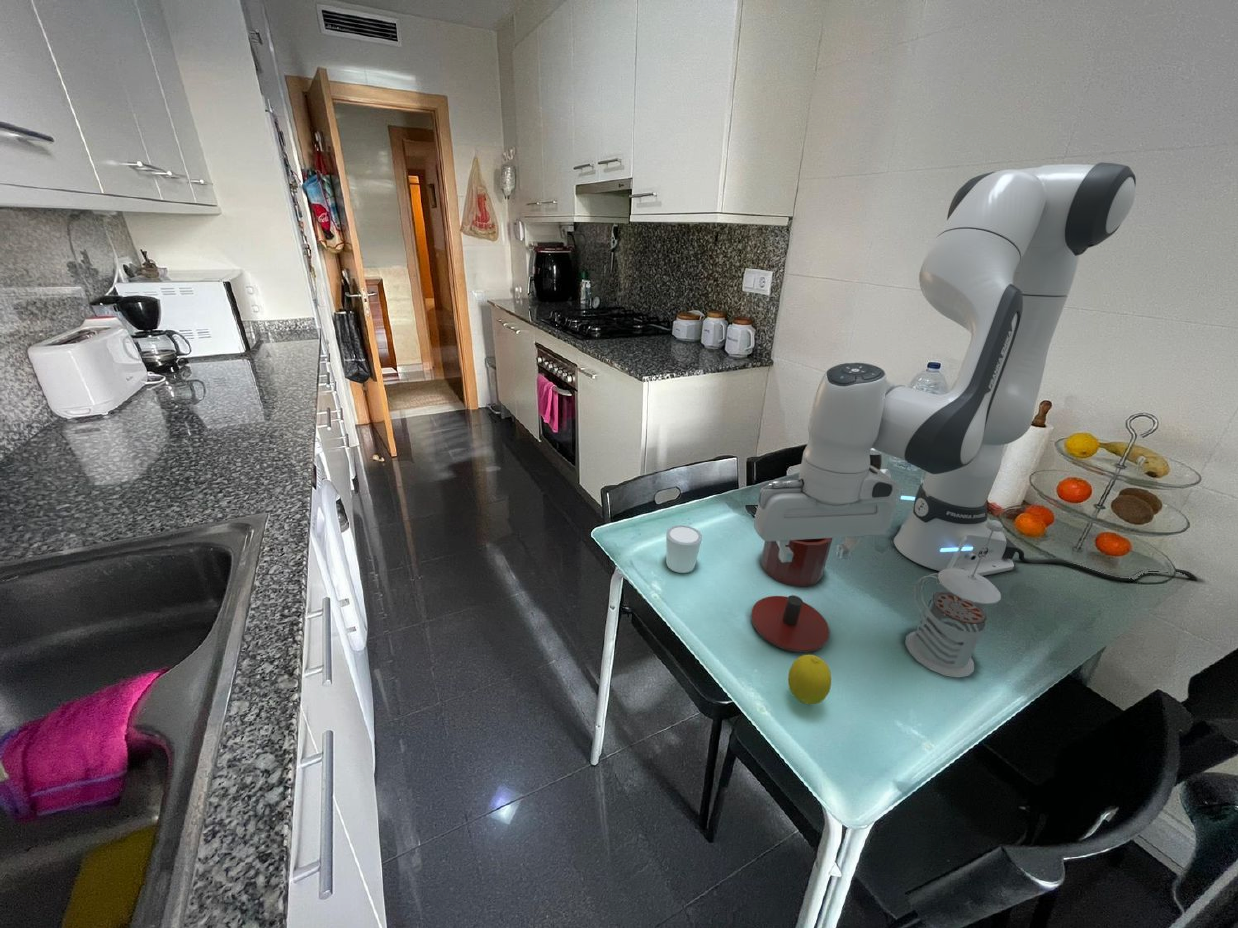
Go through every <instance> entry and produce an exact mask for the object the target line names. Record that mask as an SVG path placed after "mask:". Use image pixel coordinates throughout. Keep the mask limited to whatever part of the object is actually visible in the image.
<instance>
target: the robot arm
mask: <svg viewBox="0 0 1238 928" xmlns="http://www.w3.org/2000/svg"><path fill="white" fill-rule="evenodd" d="M1136 179H1137V178H1136V175H1135V173H1134V172H1133V170H1132V169H1131V167H1130V166H1129V165H1125V164H1120V163H1115V162H1113V163H1112V162H1104V161H1103V162H1102V161H1101V162H1098V163H1096V164H1086V163H1085V164H1083V163H1082V164H1081V163H1059V164H1043V165H1041V166H1036V167H1027V168H1019V169H1010V168H1009V169H1002V170H999V171H991V172H986V173H983V174H980V175H976V176H975V177H972V178H970V179H969V180H968V181H967V182H965V183H964V184H963V185H962V186H961V187H959V189H958V190H957V191H956V192H955V194H954V196H953V198H952V200H951V202H950V205H949V208H948V211H947V218H946V222H945V223H944V225H943V227H941V229H940V231H939V232H938V234H937V236H936V238H935V240H934V241H933V243H932V244H931V246H930V248H929V250H928V251H927V254H926V255H925V257H924V259H923V262H922V264H921V266H920V269H919V275H918V283H919V288H920V291H921V293H922V295H923V297H924V298H925V300H926V301H927V303H928V304H929V305H930V306H931V307H932V308H933V309H935V310H936V311H937V312H938V313H939V314H941V315H943V317H945V318H947V319H949V320H951V321H953V322H955V323H956V324H958V325H960V326H961V327H963V328H964V329H965V330H967V331H968V332H969V333H970V334H971V335H970V341H969V344H968V347H967V350H966V353H965V355H964V358H963V360H962V362H961V365H960V369H959V372H958V374H957V377H956V379H955V380H954V382H953V384H952V385H951V389H950V391H948V392H946V393H943V394H936V393H932V392H928V391H924V390H920V389H917V388H911V387H908V386H905V385H903V384H900V383H896V382H893V381H890V380H888V379H887V373H886V372H885V370H883V369H882V368H881V367H879V366H877V365H874V364H870V363H866V362H845V363H840V364H837V365H834V366H832V367H829V368H828V369H827V370H826V371H825V373H824V374H823V375H822V377H821V380H820V382H819V385H818V388H817V390H816V393H815V396H814V400H813V403H812V406H811V411H810V416H809V420H808V427H807V430H808V441H807V444H806V446H805V448H804V450H803V452H802V456H801V463H800V468H799V474H798V477H797V479H788V480H779V479H778V480H772V481H770V483H768V484H765V485H764V486H763V487H762V488H760V491H759V497H758V504H757V507H756V511H755V516H754V519H753V524H752V525H753V528H754V531H755V532H756V534H757V535H758V536H759V538H760V539H761V540H762V541H764V542H765V541H776V542H777V544H778V546H779V548H780V550H779V559H780V560H781V562H782V563H783V562H792V558H793V555H794V553H793V552H792V551H791V549H790V548H789V547H785V545H789V541H790V540H802V539H821V538H833V539H836V538H837V539H838V538H845V540H844V541H843V542H842V543H837V545H836V550H835V555H836V556H837V557H838V558H839V560H848V559H851V557H852V556H851V555H852V553H853V551H854V550H855V548H857V547H858V546H859V545H860V544H861V543H862V542H863V539H864V537H874V536H876V537H877V536H883V535H885V534H886V533H887V532H888V531H889V530H890V528H891V526H892V523H893V520H894V516H895V510H896V499H895V498H894V497H896V495H897V494H898V492H899V489H900V486H899V484H898V483H897V482H896V481H895V480H894V479H892V477H891V478H890V477H888V476H887V475H886V474H884V473H883V472H881V471H880V470H881V469H880V470H878V469H877V468H875V467H873V466H871V465H870V450H871V448H874V449H875V450H878V451H880V452H882V453H883V454H886V455H888V456H892V457H894V458H896V459H899V460H902V461H905V462H906V463H907V464H910V465H912V466H914V467H916V468H918V469H921V470H923V471H925V472H926V474H925V475H924V479H923V482H922V483H921V484H920V485H919V486H918V489H917V491H916V495H915V496H909V495H900V500H905V501H913V506H912V508H911V510H910V512H909V514H908V516H907V518H906V519H905V521H904V523H903V524H902V525H901V526H900V528H899V531H898V532H897V534H896V536H894V538H893V544H894V546H895V548H896V549H897V551H899V553H900V554H902V555H903V556H904V557H906V558H907V559H909V560H910V561H913V562H914V563H916V564H918V565H921V566H923V567H925V568H927V569H931V570H935V571H937V572H940V571H942V570H943V569H950V568H957V569H964V570H967V571H971V572H974V570H975V568H976V565H977V563H978V561H979V559H980V556H981V554H982V552H983V549H984V547H985V545H986V543H987V540H988V538H989V536H990V533H991V531H992V530H990V529H988V528H987V527H986V525H987V522H988V521H991V520H992V519H990V518H989V516H988V515H989V514H988V513H989V512H991V514H992V515H994V516H999V515H1000V514H1002V513H1003V511H1004V508H1003V506H1001V505H999V504H997V502H994V501H993V502H990V501H988V498H989V495H990V493H991V491H992V488H993V485H994V483H995V481H996V479H997V476H998V474H999V472H1000V469H1001V465H1002V457H1003V452H1004V447H1005V445H1008V444H1011V443H1014V442H1015V441H1017V440H1019V439H1020V438H1022V437H1023V436H1024V435H1025V434H1027V432H1028V431H1029V429H1030V428H1031V426H1032V424H1033V419H1034V414H1035V408H1036V403H1037V401H1038V400H1037V399H1038V396H1039V393H1040V389H1041V384H1042V381H1043V377H1044V372H1045V368H1046V363H1047V358H1048V357H1047V356H1048V352H1049V348H1050V345H1051V342H1052V340H1053V336H1054V333H1055V331H1056V328H1057V325H1058V323H1059V320H1060V318H1061V315H1062V312H1063V310H1064V307H1065V305H1066V301H1067V299H1068V296H1069V293H1070V291H1071V288H1072V285H1073V283H1074V279H1075V275H1076V273H1077V267H1078V263H1079V259H1080V256H1081V255H1083V254H1084V253H1085V252H1086V251H1087V250H1088V249H1089V248H1093V247H1095V246H1098V245H1100V244H1101V243H1103V242H1104V241H1106V240H1107V239H1108V238H1110V237H1111V236H1113V235H1114V234H1115V233H1116V232H1117V231H1118V229H1119V228H1120V227H1121V225H1122V223H1123V222H1124V220H1125V219H1126V218H1127V216H1128V215H1129V214H1130V211H1131V209H1132V207H1133V204H1134V201H1135V196H1136V185H1137V180H1136ZM1016 553H1018V560H1019V561H1021V562H1022V563H1025V564H1032V565H1033V564H1034V565H1035V564H1037V565H1041V564H1042V565H1048V564H1049V565H1050V564H1055V565H1056V564H1058V565H1064V566H1069V567H1072V568H1076V569H1079V570H1082V571H1085V572H1088V573H1091V574H1094V575H1096V576H1100V577H1103V578H1106V579H1108V580H1109V579H1110V580H1114V581H1121V582H1132V581H1137V580H1136V579H1135V580H1133V579H1132V578H1130V579H1129V578H1120V577H1115V576H1111V575H1107V574H1104V573H1105V572H1104V573H1101V572H1102V571H1101V572H1098V571H1099V570H1098V571H1095V570H1096V569H1095V570H1092V569H1093V568H1092V569H1089V568H1086V567H1083V566H1080V565H1077V564H1078V563H1077V564H1073V563H1069V562H1065V560H1066V559H1058V558H1050V559H1049V558H1048V559H1037V560H1034V559H1028V558H1025V552H1024V550H1022V549H1021V548H1019V547H1018V546H1017V545H1015V544H1014V543H1013V542H1012V540H1010V539H1009V538H1008V537H1007V536H1006V535H1005V534H1004V533H1003V532H1002V531H1001V532H996V531H993V534H992V536H991V538H990V540H989V543H988V545H987V547H986V549H985V552H984V554H983V556H982V559H981V561H980V563H979V565H978V568H977V570H976V572H975V573H977V574H978V575H980V576H982V577H984V576H988V575H994V574H1001V573H1004V572H1010V571H1013V570H1014V567H1015V564H1014V561H1013V558H1014V556H1015V554H1016ZM1174 569H1175V570H1176V572H1180V573H1182V574H1181V575H1183V576H1186V577H1188V579H1190V580H1191V581H1194V582H1198V578H1197V576H1195V574H1193V573H1192V572H1190V571H1189V570H1184V569H1181V568H1174ZM1143 570H1144V569H1142V570H1140V571H1138V572H1137V573H1139V572H1141V571H1143ZM1148 570H1150V569H1149V568H1148ZM1148 572H1159V571H1148ZM1137 573H1136V572H1135V574H1133V575H1132V576H1134V575H1136V574H1137ZM1184 574H1185V575H1184ZM1143 576H1146V575H1145V573H1143V575H1142V574H1141V575H1140V576H1138V577H1140V578H1141V577H1143ZM1127 577H1129V576H1127Z"/></svg>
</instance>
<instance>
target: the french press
mask: <svg viewBox="0 0 1238 928" xmlns="http://www.w3.org/2000/svg"><path fill="white" fill-rule="evenodd" d="M990 520H991V521H988V522H987V525H986V527H987V528H988V529H990V530H992V531H991V533H990V536H989V538H988V540H987V543H986V545H985V547H984V549H983V552H982V554H981V556H980V559H979V561H978V563H977V565H976V568H975V570H974V572H971V571H967V570H964V569H957V568H950V569H943V570H942V571H938V573H937V572H936V573H930V574H929V575H925V576H922V577H920V578H919V579H918V580H917V581H916V582H915V585H914V588H913V602H914V604H915V606H916V608H917V609H918V611H919V612H920V614H921V617H920V621H919V623H918V625H917V628H916V631H911V632H910V633H909V634H907V635H906V636H905V643H904V644H905V647H906V648H907V650H908V651H907V652H909V654H910V655H911V656H913V658H914V659H915V660H916V662H918V663H920V664H921V665H923V666H924V667H926V668H927V669H928V670H930V671H933V672H935V673H937V674H940V675H942V676H947V677H951V678H959V679H960V678H964V677H969V676H970V675H971V674H972V673H973V672H974V671H975V662H974V660H973V659H972V655H973V653H974V651H975V649H976V646H977V645H978V643H979V641H980V638H981V636H982V634H983V632H984V630H985V627H986V620H987V619H988V618H987V612H986V611H985V609H984V608H983V606H991V605H995V604H997V603H998V602H999V601H1001V600H1002V594H1001V592H1000V591H999V589H998V588H997V587H996V586H995V585H994V584H993V583H992V581H990V580H989V578H986V577H984V576H980V575H978V574H977V573H975V572H976V570H977V568H978V565H979V563H980V561H981V559H982V556H983V554H984V552H985V549H986V547H987V545H988V543H989V540H990V538H991V536H992V534H993V531H996V532H1002V530H1003V527H1004V525H1003V524H1002V522H1001V521H999V520H996V519H990ZM929 578H933V579H935V586H940V585H941V586H942V588H944V589H945V590H941V591H936V593H934V594H932V599H930V600H928V602H927V604H926V602H925V600H924V597H923V588H924V584H925V582H926V581H927V580H928V579H929ZM921 581H922V583H921V585H920V599H921V602H922V604H923V606H924V608H925V609H924V612H923V611H922V610H921V608H920V606H919V604H918V602H917V600H916V590H917V587H918V584H919V583H920V582H921ZM931 602H932V604H931ZM930 605H931V607H930ZM929 607H930V608H929ZM942 619H943V620H942ZM944 619H945V620H944ZM946 619H947V620H951V621H947V620H946ZM952 621H955V622H958V623H959V624H961V625H962V626H963V627H964V628H965V630H964V628H962V627H961V626H960V625H958V624H957V623H955V622H952ZM923 623H924V624H923ZM968 624H969V626H970V627H971V629H970V628H969V626H968ZM975 625H976V627H977V629H976V627H975ZM971 630H972V631H971ZM977 630H978V631H977Z"/></svg>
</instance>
